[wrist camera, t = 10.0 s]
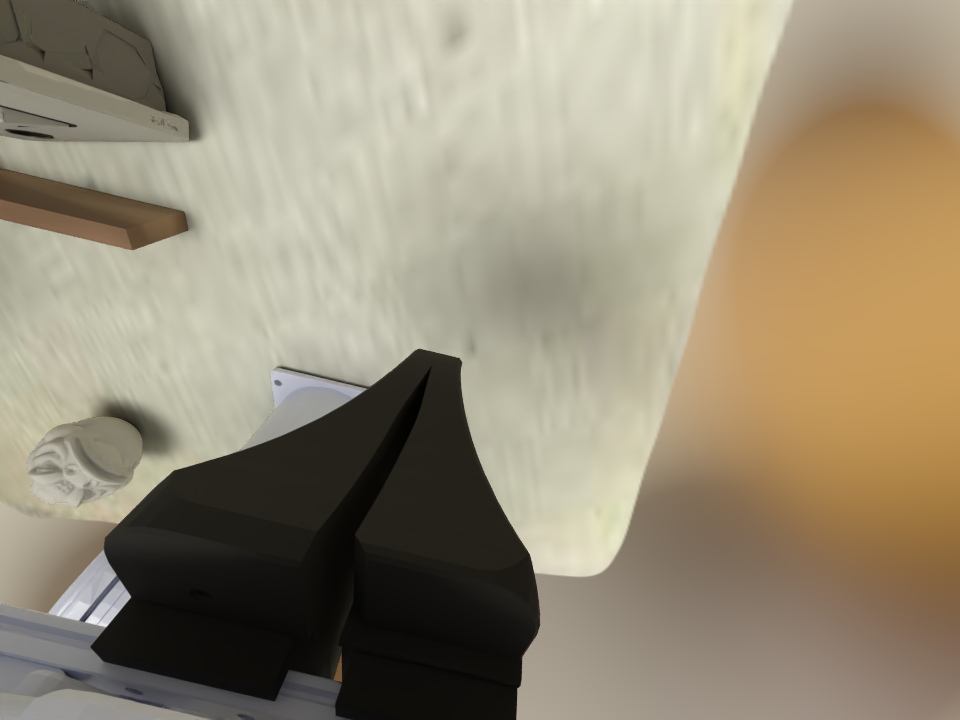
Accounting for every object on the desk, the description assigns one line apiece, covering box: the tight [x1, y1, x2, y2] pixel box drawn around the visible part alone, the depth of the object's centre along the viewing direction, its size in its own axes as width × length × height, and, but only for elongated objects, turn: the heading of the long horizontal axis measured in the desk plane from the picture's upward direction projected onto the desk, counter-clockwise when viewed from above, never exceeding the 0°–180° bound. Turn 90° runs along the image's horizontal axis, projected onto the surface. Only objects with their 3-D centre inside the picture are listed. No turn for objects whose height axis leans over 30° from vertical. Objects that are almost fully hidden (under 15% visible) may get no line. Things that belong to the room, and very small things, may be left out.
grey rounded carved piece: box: [27, 417, 143, 508], centre depth 28 cm, size 6×7×7 cm
